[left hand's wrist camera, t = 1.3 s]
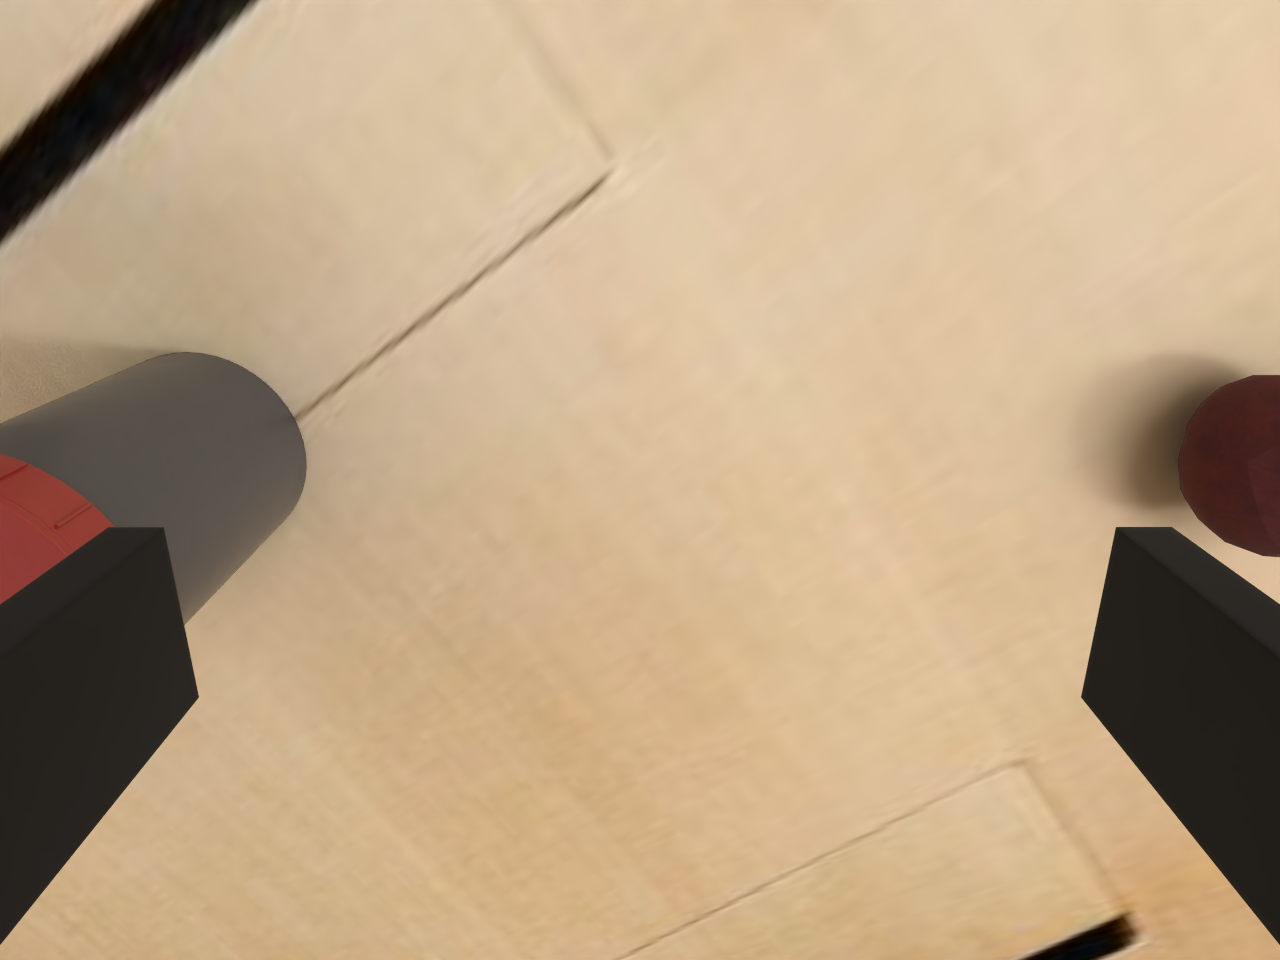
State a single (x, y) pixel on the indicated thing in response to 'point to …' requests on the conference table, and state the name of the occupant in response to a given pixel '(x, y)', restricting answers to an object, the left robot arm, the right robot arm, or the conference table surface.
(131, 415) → the jar
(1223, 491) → the dark red ball
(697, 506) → the conference table surface
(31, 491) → the lid
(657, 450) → the conference table surface
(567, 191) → the conference table surface
